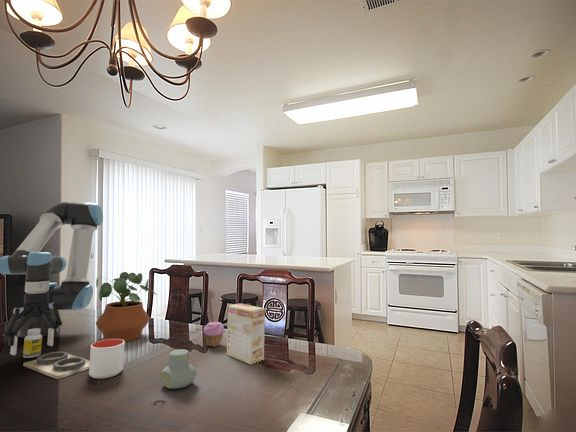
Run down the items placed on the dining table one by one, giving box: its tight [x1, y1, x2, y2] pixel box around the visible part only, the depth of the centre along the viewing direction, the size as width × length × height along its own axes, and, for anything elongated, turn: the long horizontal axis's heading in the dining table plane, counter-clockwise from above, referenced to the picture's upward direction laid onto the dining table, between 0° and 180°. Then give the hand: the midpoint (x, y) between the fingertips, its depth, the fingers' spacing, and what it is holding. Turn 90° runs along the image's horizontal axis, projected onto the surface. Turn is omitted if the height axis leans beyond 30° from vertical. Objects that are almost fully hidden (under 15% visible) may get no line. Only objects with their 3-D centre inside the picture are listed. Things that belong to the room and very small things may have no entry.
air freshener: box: [159, 348, 197, 390], centre depth 100 cm, size 11×8×10 cm
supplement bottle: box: [22, 328, 43, 359], centre depth 123 cm, size 5×5×10 cm
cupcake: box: [202, 321, 225, 348], centre depth 139 cm, size 9×9×10 cm
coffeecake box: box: [226, 302, 266, 365], centre depth 125 cm, size 15×7×20 cm, turn 47°
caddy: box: [22, 351, 90, 380], centre depth 113 cm, size 13×22×2 cm, turn 62°
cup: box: [88, 339, 126, 380], centre depth 108 cm, size 10×10×10 cm
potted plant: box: [95, 271, 157, 343], centre depth 151 cm, size 23×28×30 cm
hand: (32, 349), depth 123 cm, fingers open, 11 cm apart
